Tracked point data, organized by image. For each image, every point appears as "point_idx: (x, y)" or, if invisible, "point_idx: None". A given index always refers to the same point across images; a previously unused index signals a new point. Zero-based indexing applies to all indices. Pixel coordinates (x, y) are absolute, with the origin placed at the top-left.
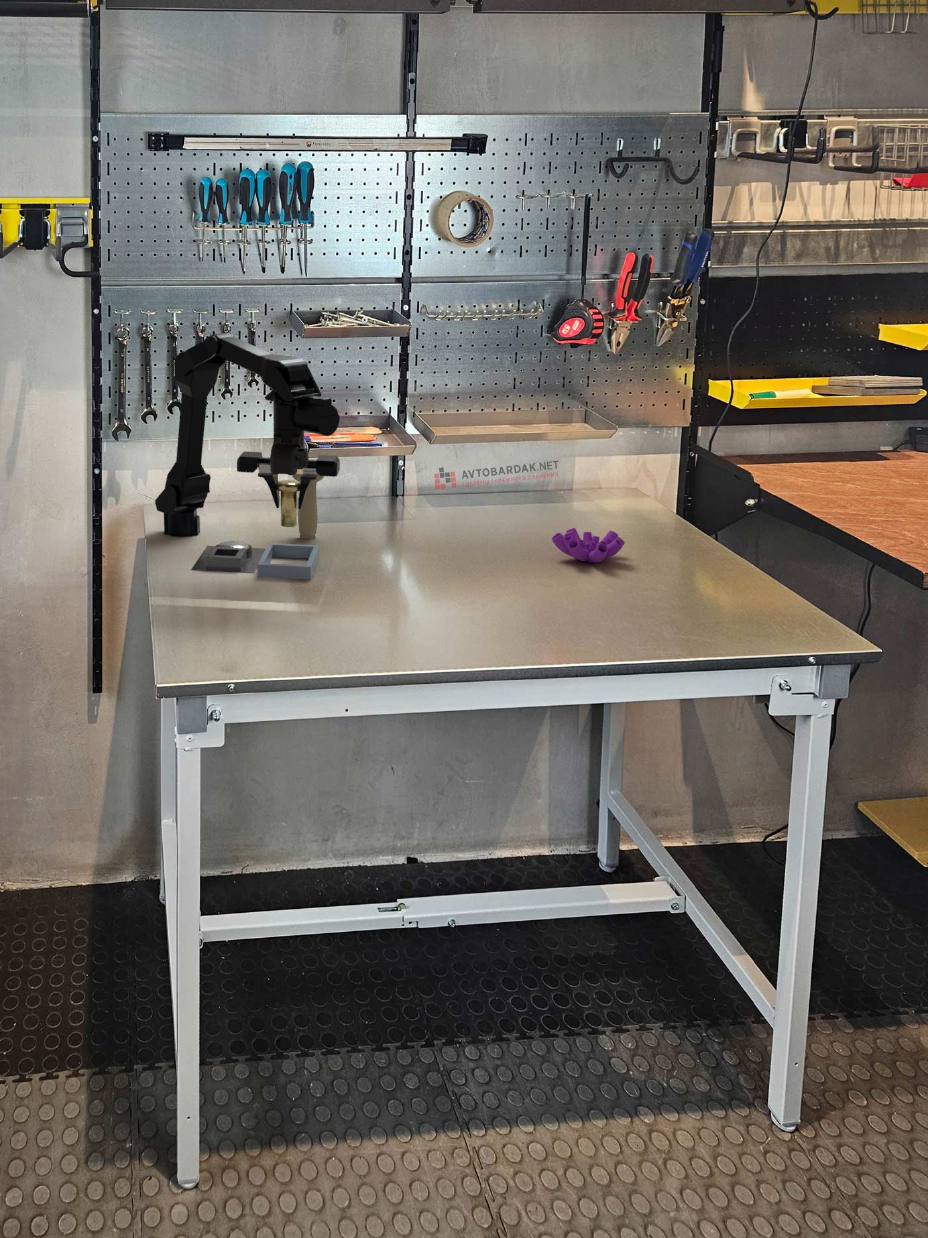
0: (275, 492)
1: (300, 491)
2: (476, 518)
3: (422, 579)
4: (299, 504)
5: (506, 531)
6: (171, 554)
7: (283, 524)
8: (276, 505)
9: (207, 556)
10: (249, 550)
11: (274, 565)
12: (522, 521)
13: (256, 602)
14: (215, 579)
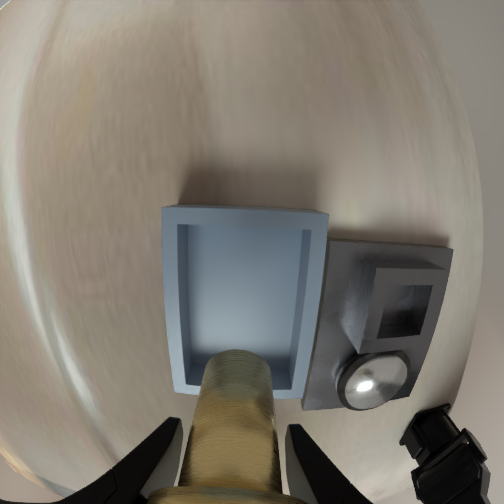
0: (320, 487)
1: (133, 486)
2: (66, 473)
3: (10, 273)
4: (166, 431)
5: (25, 436)
6: (454, 359)
7: (257, 360)
8: (301, 431)
9: (443, 272)
10: (344, 374)
11: (275, 211)
12: (32, 453)
13: (298, 70)
14: (406, 229)
